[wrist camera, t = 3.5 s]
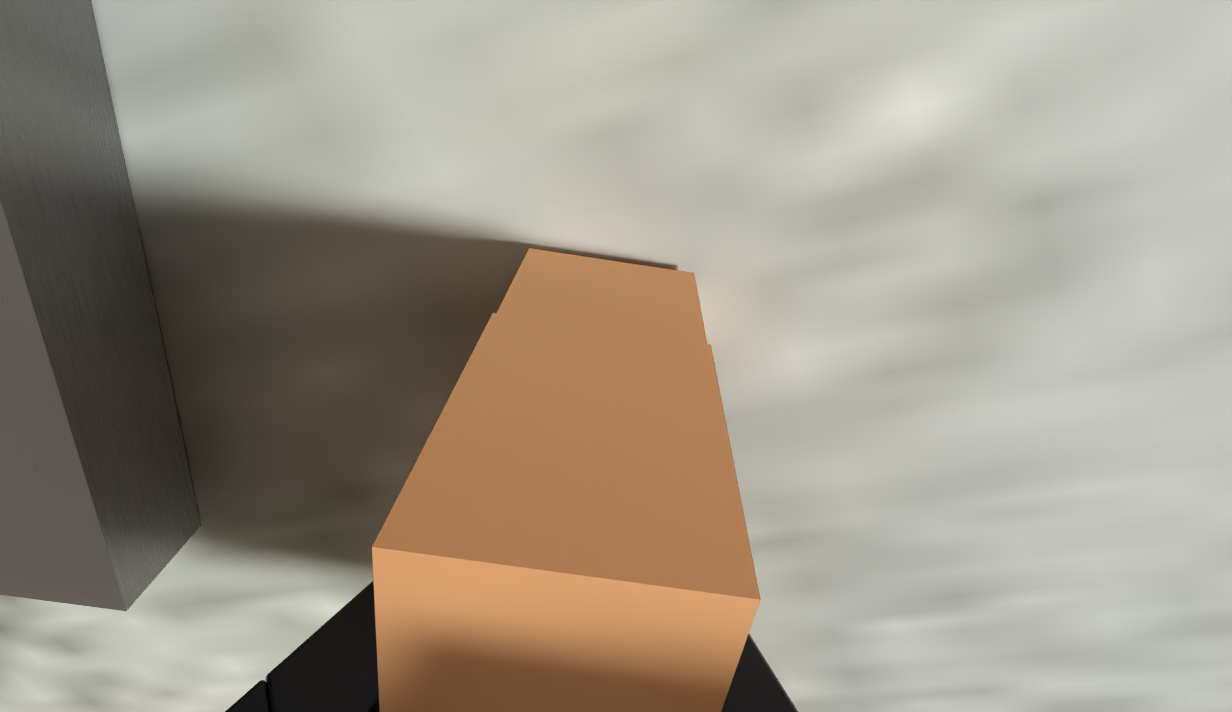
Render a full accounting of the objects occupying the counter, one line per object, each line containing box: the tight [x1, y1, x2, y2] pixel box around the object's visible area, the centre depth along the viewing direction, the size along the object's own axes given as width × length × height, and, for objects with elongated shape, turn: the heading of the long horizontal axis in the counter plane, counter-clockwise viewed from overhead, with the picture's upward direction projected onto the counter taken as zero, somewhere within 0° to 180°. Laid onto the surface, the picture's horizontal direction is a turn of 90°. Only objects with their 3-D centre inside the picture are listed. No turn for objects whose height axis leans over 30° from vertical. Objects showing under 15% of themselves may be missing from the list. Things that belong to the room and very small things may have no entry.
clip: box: [372, 248, 760, 712], centre depth 8 cm, size 7×2×6 cm, turn 172°
